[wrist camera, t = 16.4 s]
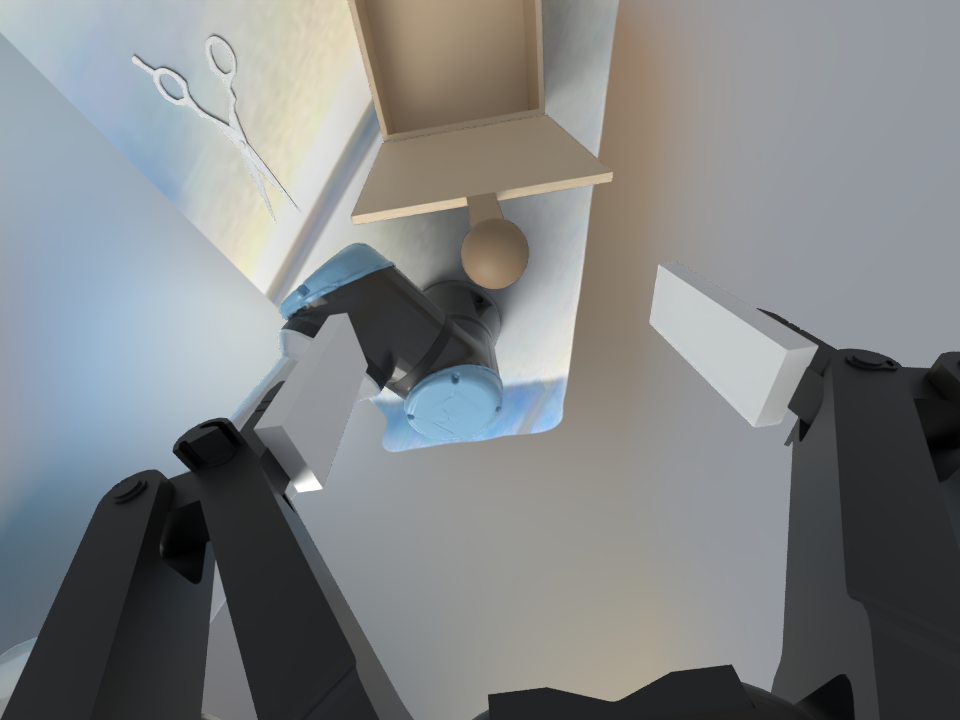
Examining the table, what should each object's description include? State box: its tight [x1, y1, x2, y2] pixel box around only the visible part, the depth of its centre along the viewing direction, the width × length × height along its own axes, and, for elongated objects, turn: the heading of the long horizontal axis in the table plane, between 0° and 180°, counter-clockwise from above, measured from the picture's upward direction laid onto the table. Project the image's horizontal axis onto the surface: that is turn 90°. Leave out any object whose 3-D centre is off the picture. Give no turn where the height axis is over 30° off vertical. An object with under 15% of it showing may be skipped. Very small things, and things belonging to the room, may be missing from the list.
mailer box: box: [348, 0, 545, 142], centre depth 35 cm, size 20×18×7 cm
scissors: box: [132, 36, 298, 222], centre depth 43 cm, size 11×1×20 cm
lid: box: [351, 115, 613, 289], centre depth 28 cm, size 30×18×4 cm
